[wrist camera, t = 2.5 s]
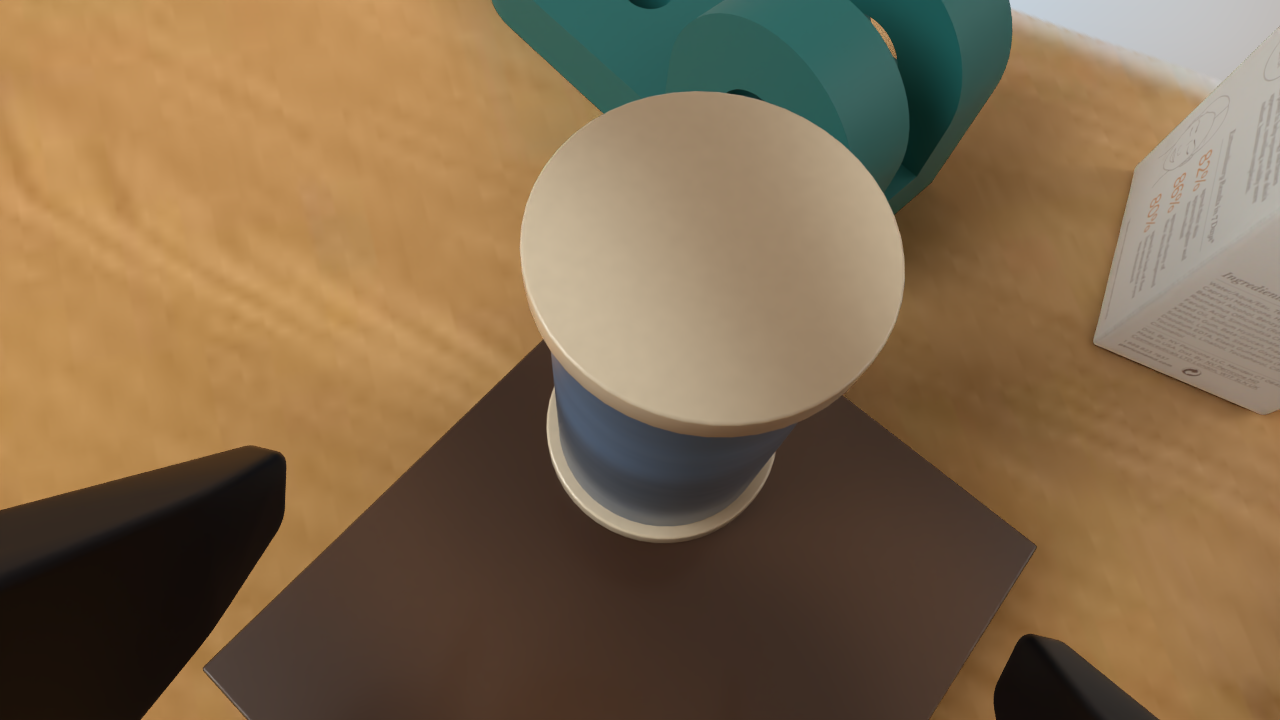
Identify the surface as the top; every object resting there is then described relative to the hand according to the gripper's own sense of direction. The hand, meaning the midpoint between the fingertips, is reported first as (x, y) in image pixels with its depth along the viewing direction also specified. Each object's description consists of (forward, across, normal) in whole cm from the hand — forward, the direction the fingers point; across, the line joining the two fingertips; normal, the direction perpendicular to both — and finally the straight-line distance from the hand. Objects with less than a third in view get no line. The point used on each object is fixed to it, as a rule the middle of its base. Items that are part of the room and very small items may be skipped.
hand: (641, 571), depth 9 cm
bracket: (+22, +2, -5) cm, 23 cm away
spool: (+10, 0, +3) cm, 11 cm away
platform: (+9, -1, +8) cm, 12 cm away
